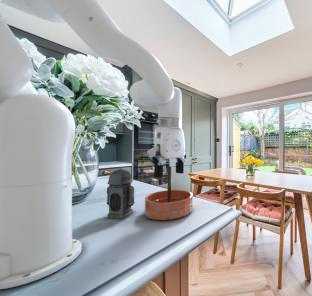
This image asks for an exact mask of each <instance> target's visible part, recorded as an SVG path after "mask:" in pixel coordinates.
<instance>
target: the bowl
mask: <svg viewBox="0 0 312 296" xmlns="http://www.w3.org/2000/svg"><path fill="white" fill-rule="evenodd" d="M167 190H168V189H166V190H160V191H155V192H152V193H150V194H147V195H146V196H145V197H144V215H145V217H146V218H148V219H151V220H155V221H167V220H174V219H179V218H182V217H185V216H187V215H188V214H190V213H192V211H193V201H194V200H193V199H194V198H193V197H194V196H193V193H192V192H191V191H188V190H184V189H171V202H170V203H167Z"/></svg>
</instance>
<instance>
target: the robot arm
mask: <svg viewBox="0 0 312 296" xmlns="http://www.w3.org/2000/svg"><path fill="white" fill-rule="evenodd" d="M0 3H1V4H3V5H5V6H7V7H8V6H9V7H11V8H13V9H16V10H18V11H21V12H24V13H26V14H28V15H31V16H33V17H36V18H39V19H41V20H45V21H48V22H52V23H57V24H62V23H63V24H64V23H66V24H67V25H68V26H69V27H70V29H71V30H73V32H74V33H75V34H76V35H77V36H78V37H79V38H80V40H82V42H83V43H84V44H85V45H86V46H87V47H88V49H89V50H91V51H92V52H93V53H94V54H96V55H98V56H101V57H105V58H108V59H112V60H116V61H118V62H121V63H123V64H125V65H127V66H128V67H129V68H130V69H132V70H133V71H134V72H135V73H136V74H137V75H138V76H139V77H140V78H141V79H140V80H138V81H136V82H134V83H133V84H132V85H131V86H130V88H129V97H130V99H131V100H132V101H133V102H134V103H135V104H137V105H138V106H141V107H145V108H146V107H147V108H148V107H149V108H157V109H158V110H157V113H158V114H157V119H156V123H157V124H158V125H157V128H156V131H155V137H154V146H153V147H151V148H150V149H148V150H147V151H146V153H147V156H148V158H149V161H150V162H151V165H153V172H154V173H153V177H154V178H158V179H163V178H164V165H163V162H164V161H165V160H166V159H167V160H170V159H174V160H176V161H175V173H176V174H184V171H185V169H184V168H185V167H184V166H185V165H184V164H185V162H186V158H187V155H188V152H189V151H188V149H186V142H185V141H186V140H185V134H184V129H182V125H183V123H182V122H183V118H182V117H183V104H182V103H183V92H182V90H181V89H180V88H179V87H176V86H174V83H173V80H172V78H171V76H170V75H169V73H168V72H167V70H166V69H165V67H163V65H162V63H161V61H159V59H158V58H157V57H156V55H154V54H153V53H152V52H151V51H149V50H148V49H147V48H145V47H144V46H143V45H142V44H141V43H138V41H136V40H134V39H132V38H130V37H129V36H127V34H125V33H124V32H123V31H122V30H121V28H120V27H119V25H118V24H117V23H116V22H115V21H114V19H113V18H112V16H111V15H110V14H109V12H108V11H107V10H106V8H105V6H103V4H102V3H101V2H100V0H0ZM34 71H35V68H34V63H33V61H32V59H31V57H30V56H29V54H28V53H27V52H26V50H25V49H24V47H23V46H22V44H21V43H20V41H19V40H18V39H17V37H16V35H15V34H14V33H13V31H12V30H11V28H10V26H9V25H8V23H7V22H6V21H5V19H4V17H3V16H2V14H1V13H0V290H5V289H11V288H15V287H19V286H22V285H23V286H24V285H26V284H29V283H33V282H36V281H38V280H40V279H43V278H46V277H47V276H50V275H52V274H54V273H56V272H58V271H60V270H61V269H63V268H64V267H66V266H68V265H69V264H71V263H72V262H73V261H74V260H76V259H77V258H78V257H79V256H80V254H81V252H82V250H83V243H82V241H80V240H78V239H76V238H75V239H74V238H73V152H74V144H75V138H76V136H75V135H76V122H75V118H74V116H73V113H72V112H71V111H70V109H69V108H68V107H67V106H66V105H64V104H63V103H62V102H61V101H59V100H57V99H55V98H53V97H51V96H47V95H44V94H39V92H38V91H37V89H36V88H35V86H34V85H33V83H32V82H31V81H30V80H31V79H32V77H33V75H34Z"/></svg>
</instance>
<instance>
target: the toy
mask: <svg viewBox="0 0 312 296" xmlns="http://www.w3.org/2000/svg"><path fill="white" fill-rule="evenodd" d="M133 182H134V180H133V178H132V173H131V172H130V171H129V170H127V169H123V168H119V169H116V170H114V171H112V172H111V173H110V174H109V176H108V180H107V185H108V186H107V188H106V205H107V206H108V213H107V218H108V219H120V220H121V219H126V218H128V217H130V216H131V215H132V214H133V212H134V209H132V207H133V206H134V204H135V187H134V186H133V185H132V183H133Z"/></svg>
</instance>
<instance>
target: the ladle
mask: <svg viewBox="0 0 312 296" xmlns="http://www.w3.org/2000/svg"><path fill="white" fill-rule="evenodd" d="M166 190H167V203H170V202H171V190H172V166H170V165H169V166H167V189H166Z"/></svg>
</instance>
